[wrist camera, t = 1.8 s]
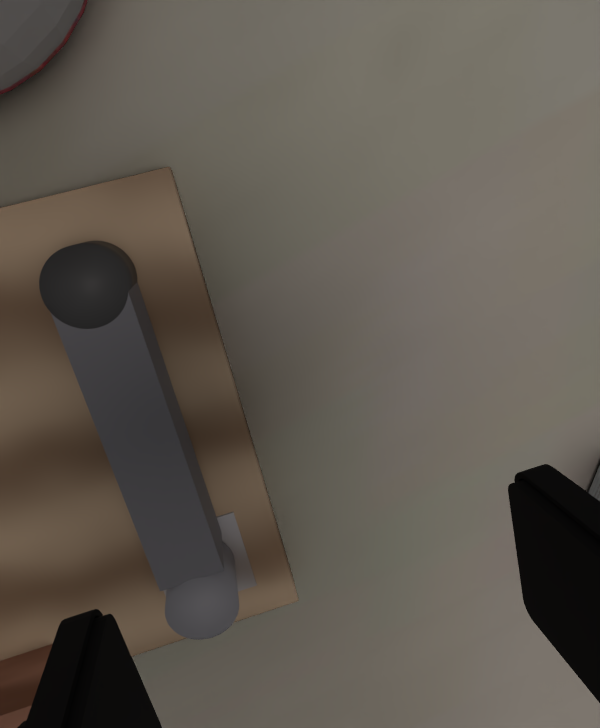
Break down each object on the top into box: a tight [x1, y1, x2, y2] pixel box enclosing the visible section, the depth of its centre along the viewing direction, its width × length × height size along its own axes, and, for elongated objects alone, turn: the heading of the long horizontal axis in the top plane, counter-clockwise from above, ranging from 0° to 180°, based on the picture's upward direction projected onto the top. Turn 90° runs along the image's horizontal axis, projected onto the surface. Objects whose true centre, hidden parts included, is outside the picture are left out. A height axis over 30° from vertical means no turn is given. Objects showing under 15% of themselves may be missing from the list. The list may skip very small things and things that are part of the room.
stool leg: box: [39, 240, 239, 639], centre depth 23 cm, size 18×3×3 cm, turn 14°
